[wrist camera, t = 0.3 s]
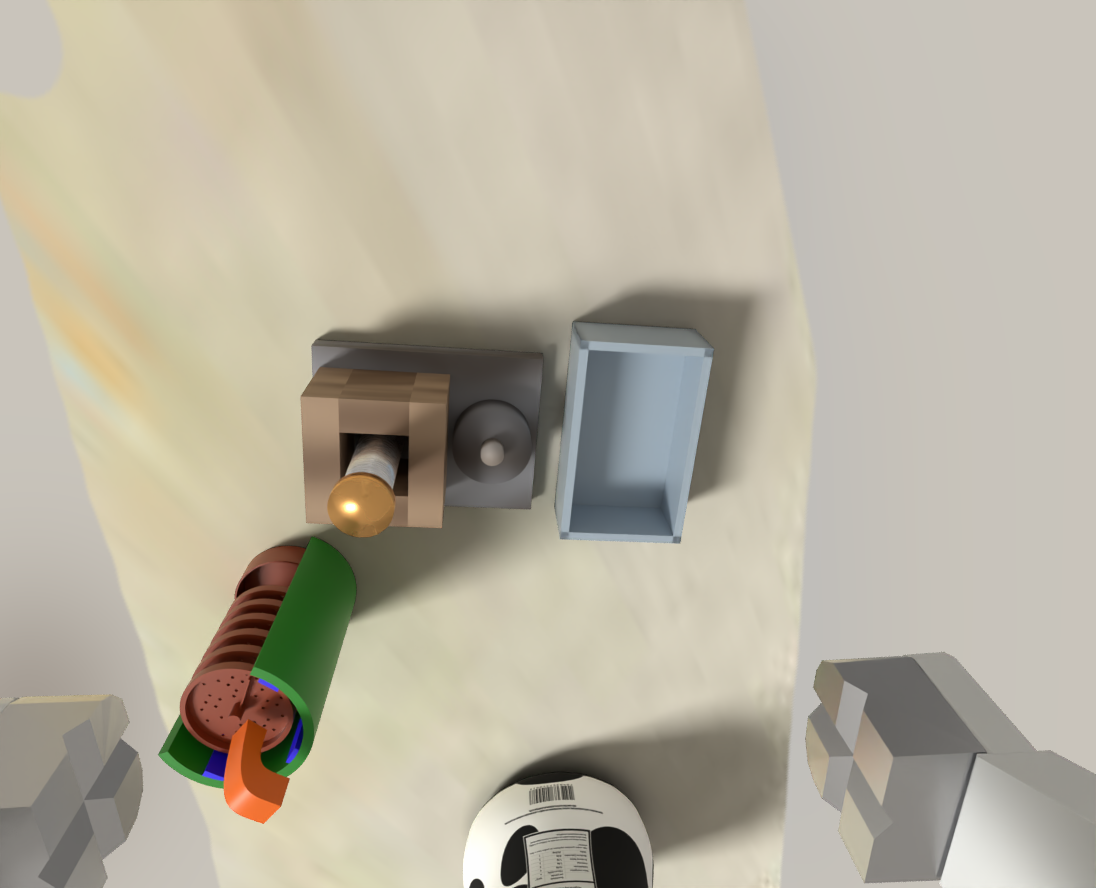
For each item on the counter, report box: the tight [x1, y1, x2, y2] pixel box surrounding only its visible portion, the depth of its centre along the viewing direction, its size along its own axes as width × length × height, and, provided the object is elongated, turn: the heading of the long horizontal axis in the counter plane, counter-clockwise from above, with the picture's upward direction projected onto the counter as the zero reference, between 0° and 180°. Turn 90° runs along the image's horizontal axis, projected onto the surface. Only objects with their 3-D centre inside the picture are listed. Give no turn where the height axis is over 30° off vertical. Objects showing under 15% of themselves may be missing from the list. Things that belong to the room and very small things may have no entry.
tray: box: [554, 321, 714, 543], centre depth 56 cm, size 15×9×5 cm, turn 175°
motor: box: [158, 536, 357, 824], centre depth 53 cm, size 10×9×20 cm
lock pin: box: [327, 433, 406, 537], centre depth 50 cm, size 4×4×12 cm
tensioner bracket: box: [301, 340, 543, 528], centre depth 54 cm, size 12×16×8 cm
